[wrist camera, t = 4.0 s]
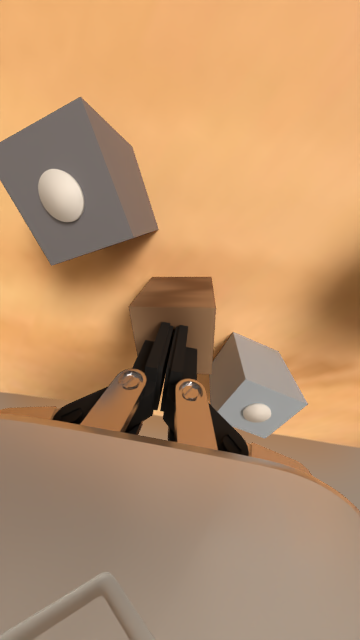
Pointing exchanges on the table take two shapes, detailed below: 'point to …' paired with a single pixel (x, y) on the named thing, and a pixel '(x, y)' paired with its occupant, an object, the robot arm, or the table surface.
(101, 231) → the charcoal block
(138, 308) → the walnut block
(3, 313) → the table surface
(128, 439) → the robot arm
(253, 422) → the slate block
